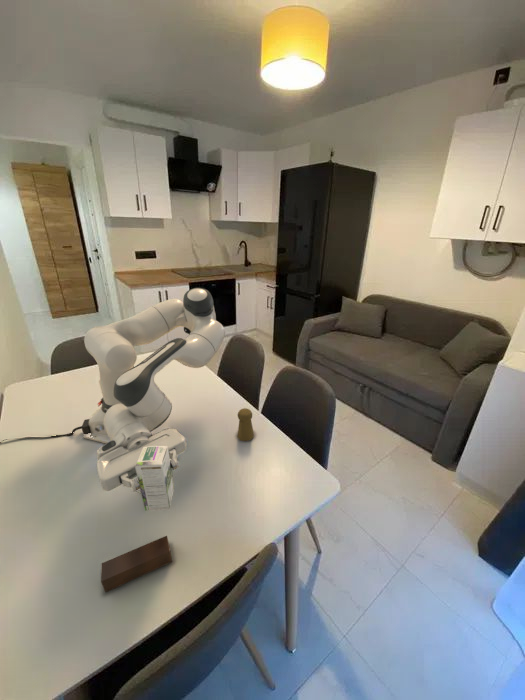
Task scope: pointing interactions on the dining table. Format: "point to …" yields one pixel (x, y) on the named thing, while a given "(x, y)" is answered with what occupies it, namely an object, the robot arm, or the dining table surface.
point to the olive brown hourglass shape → (245, 425)
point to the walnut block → (135, 563)
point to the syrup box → (155, 477)
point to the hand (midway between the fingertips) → (157, 477)
